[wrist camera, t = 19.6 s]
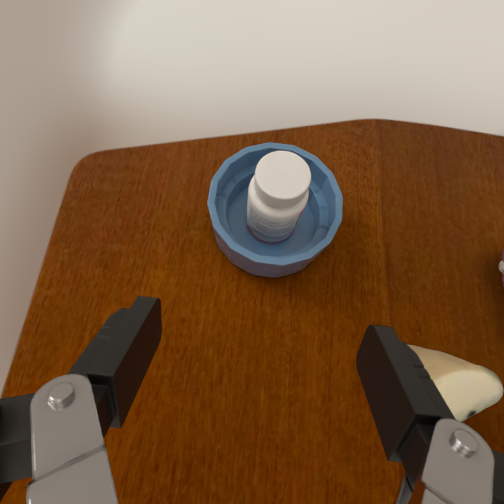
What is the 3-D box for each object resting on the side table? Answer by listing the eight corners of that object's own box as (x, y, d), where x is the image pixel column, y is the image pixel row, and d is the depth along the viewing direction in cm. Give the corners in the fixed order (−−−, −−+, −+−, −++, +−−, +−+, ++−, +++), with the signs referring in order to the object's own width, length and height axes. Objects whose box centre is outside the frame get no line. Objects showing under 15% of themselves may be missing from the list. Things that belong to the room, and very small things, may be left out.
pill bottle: (299, 241, 28) (324, 199, 20) (250, 249, 27) (255, 209, 19) (289, 197, 29) (308, 141, 21) (242, 204, 29) (243, 149, 21)
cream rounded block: (408, 428, 24) (487, 468, 16) (352, 392, 25) (402, 414, 17) (433, 365, 26) (515, 374, 18) (379, 332, 26) (436, 328, 19)
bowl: (204, 270, 27) (197, 254, 22) (222, 168, 31) (219, 135, 26) (323, 285, 27) (341, 272, 23) (327, 181, 31) (343, 151, 26)
